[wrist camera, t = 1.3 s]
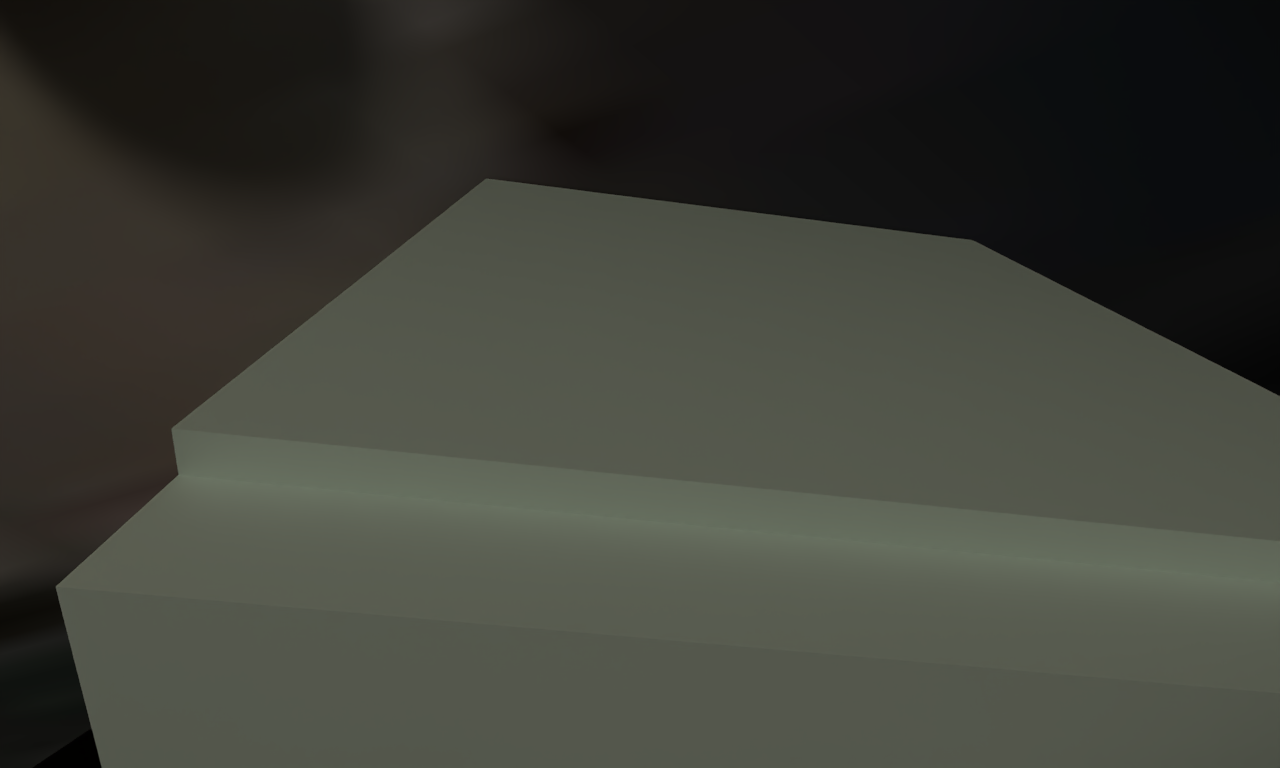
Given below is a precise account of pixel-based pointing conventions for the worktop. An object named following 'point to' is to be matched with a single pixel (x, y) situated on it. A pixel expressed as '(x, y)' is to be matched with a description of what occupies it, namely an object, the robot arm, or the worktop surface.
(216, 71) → the worktop surface
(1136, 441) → the sage green lidded box
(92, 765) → the robot arm
